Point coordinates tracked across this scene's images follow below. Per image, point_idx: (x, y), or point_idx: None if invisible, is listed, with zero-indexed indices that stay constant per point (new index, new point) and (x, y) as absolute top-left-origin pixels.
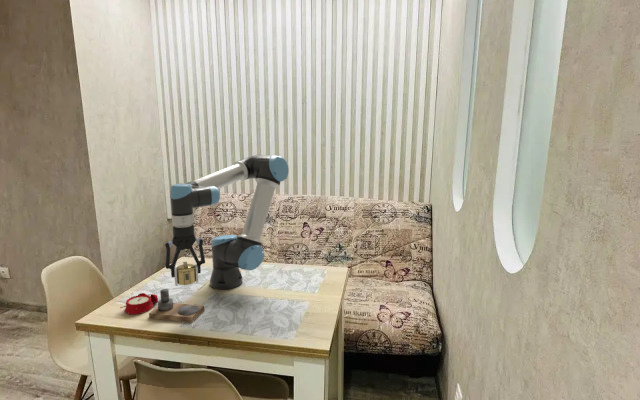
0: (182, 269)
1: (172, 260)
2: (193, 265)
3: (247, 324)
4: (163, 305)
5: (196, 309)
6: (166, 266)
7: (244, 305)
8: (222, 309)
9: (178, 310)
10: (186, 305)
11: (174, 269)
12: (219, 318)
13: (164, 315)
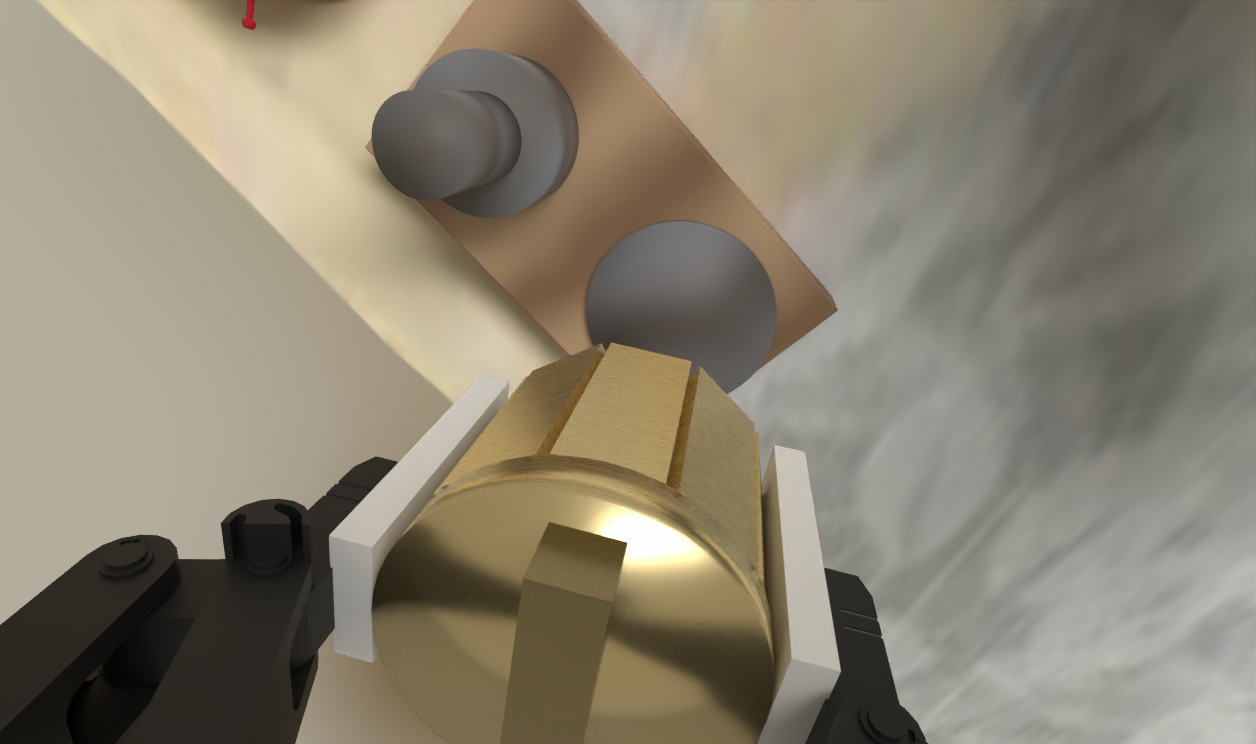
0: (472, 737)
1: (158, 701)
2: (739, 698)
3: (961, 669)
4: (460, 207)
5: (737, 356)
6: (115, 688)
7: (1176, 432)
8: (966, 378)
9: (597, 274)
10: (695, 199)
11: (334, 642)
12: (856, 494)
13: (484, 263)
